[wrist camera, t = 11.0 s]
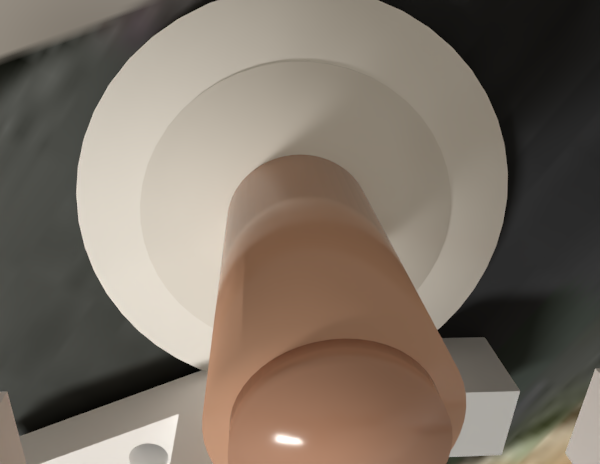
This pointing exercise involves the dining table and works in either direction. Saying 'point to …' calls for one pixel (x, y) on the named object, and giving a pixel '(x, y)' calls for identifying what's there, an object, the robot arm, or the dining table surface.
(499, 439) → the grey plastic block
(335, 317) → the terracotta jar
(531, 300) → the dining table surface
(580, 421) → the robot arm
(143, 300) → the plate
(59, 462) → the bracket
